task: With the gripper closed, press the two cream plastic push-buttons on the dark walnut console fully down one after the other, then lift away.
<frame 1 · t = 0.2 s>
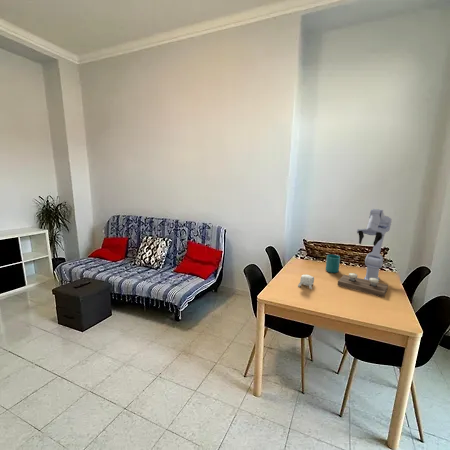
hand: (366, 243, 155), 31 cm above the table, tool tilted 45°, fingers open, 7 cm apart
button 2: (373, 282, 165), point 5 cm above the table, slide at 0.0 cm
console: (362, 287, 170), on the table
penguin: (305, 286, 170), on the table
cup: (332, 270, 198), on the table
button 1: (352, 277, 172), point 5 cm above the table, slide at 0.0 cm
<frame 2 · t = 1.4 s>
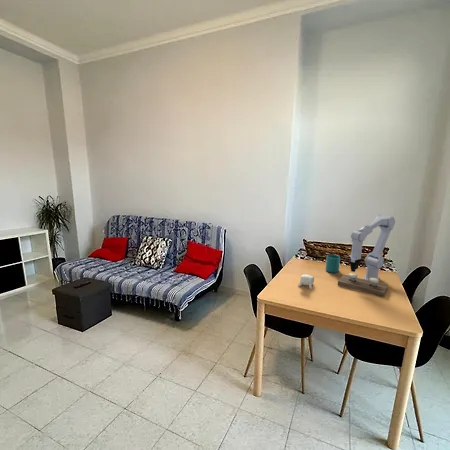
hand: (354, 270, 173), 9 cm above the table, tool pointing down, fingers open, 6 cm apart
nothing on the table moved.
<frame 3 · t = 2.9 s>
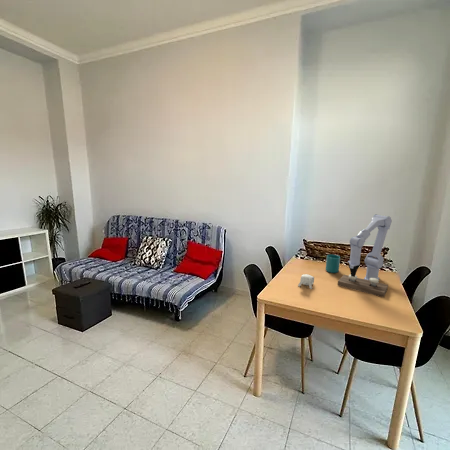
hand: (352, 276, 172), 6 cm above the table, tool pointing down, fingers closed, pressing on button 1
button 1: (352, 279, 173), point 4 cm above the table, slide at 1.0 cm, touching gripper
everything else where it was.
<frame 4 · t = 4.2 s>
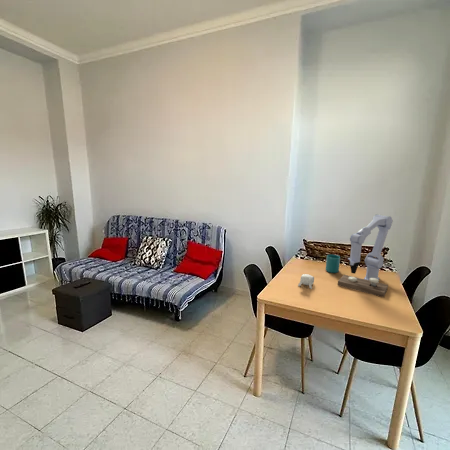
hand: (353, 273, 172), 8 cm above the table, tool pointing down, fingers closed
button 1: (352, 281, 173), point 2 cm above the table, slide at 2.5 cm
everything else where it was.
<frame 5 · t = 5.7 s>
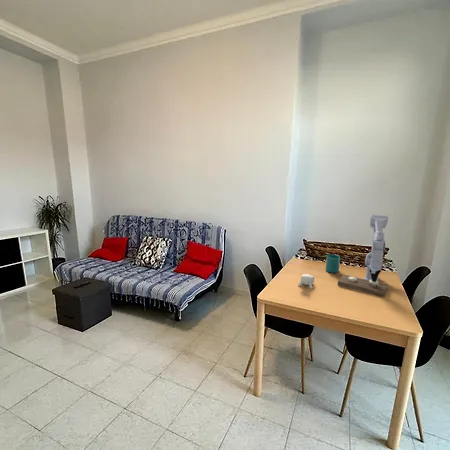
hand: (373, 281, 165), 6 cm above the table, tool pointing down, fingers closed, pressing on button 2
button 2: (373, 284, 165), point 4 cm above the table, slide at 1.2 cm, touching gripper
everything else where it was.
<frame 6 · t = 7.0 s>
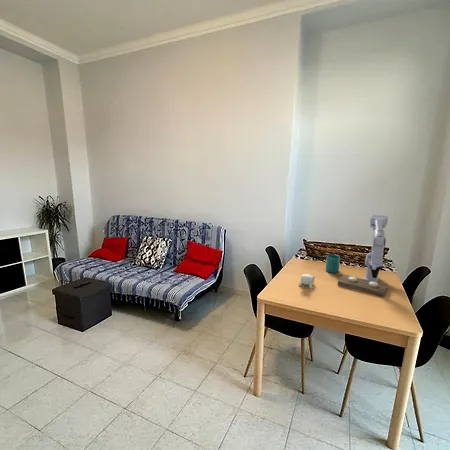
hand: (374, 277, 165), 8 cm above the table, tool pointing down, fingers closed
button 2: (373, 286, 166), point 2 cm above the table, slide at 2.5 cm, touching console
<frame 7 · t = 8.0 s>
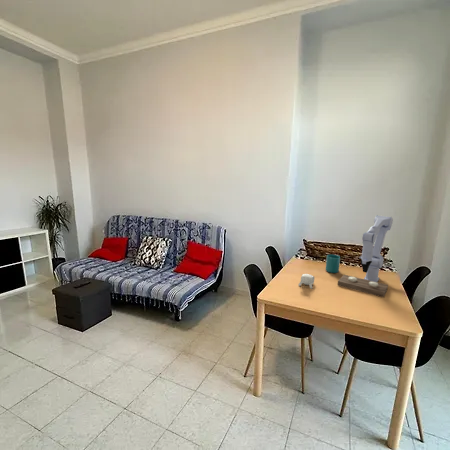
hand: (364, 271, 170), 9 cm above the table, tool pointing down, fingers closed
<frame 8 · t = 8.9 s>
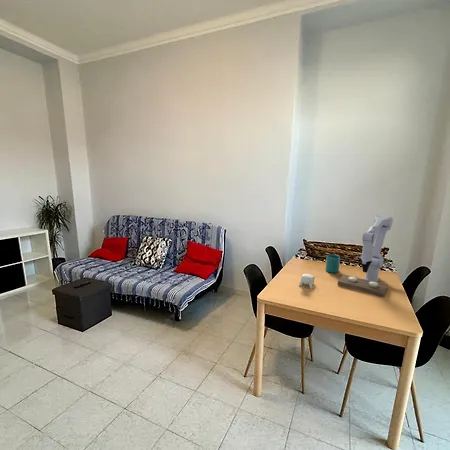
hand: (364, 271, 170), 9 cm above the table, tool pointing down, fingers closed
at the end: button 1 slide at 2.5 cm; button 2 slide at 2.5 cm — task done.
